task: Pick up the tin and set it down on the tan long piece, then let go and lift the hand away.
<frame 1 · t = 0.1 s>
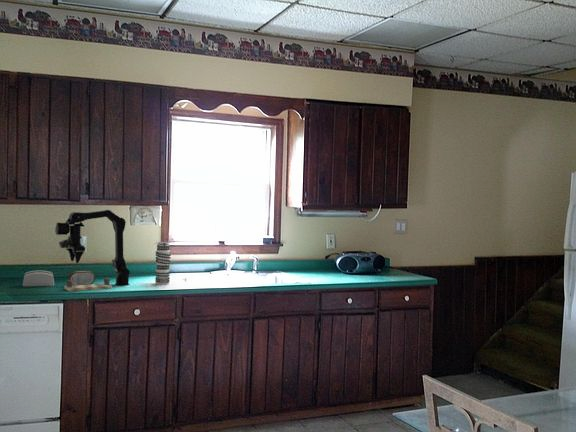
hand: (74, 262, 352), 14 cm above the countertop, tool pointing down, fingers open, 9 cm apart
tin: (81, 285, 361), on the countertop
tan long piece: (88, 288, 351), on the countertop
decorative candle: (162, 283, 378), on the countertop
grey arched block: (38, 286, 355), on the countertop
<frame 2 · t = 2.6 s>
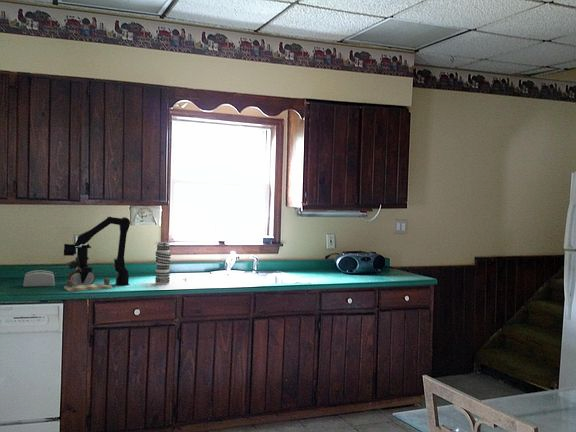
hand: (81, 282, 361), 2 cm above the countertop, tool pointing down, fingers closed on tin, 3 cm apart
tin: (81, 285, 361), on the countertop, touching gripper
everything else where it was.
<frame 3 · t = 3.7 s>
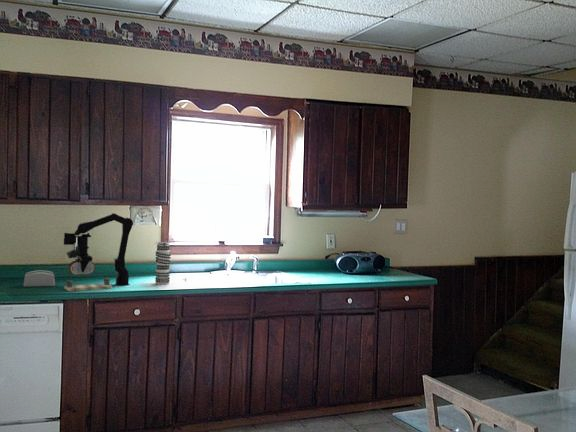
hand: (82, 271, 361), 8 cm above the countertop, tool pointing down, fingers closed on tin, 3 cm apart
tin: (81, 275, 361), point 6 cm above the countertop, touching gripper
everything else where it was.
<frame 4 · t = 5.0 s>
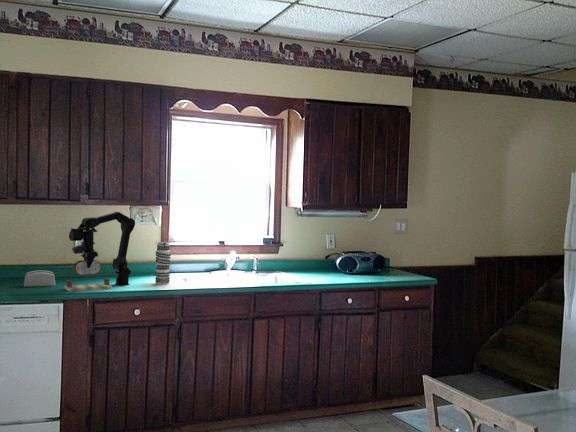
hand: (87, 267, 352), 12 cm above the countertop, tool pointing down, fingers closed on tin, 2 cm apart
tin: (87, 275, 352), point 7 cm above the countertop, touching gripper
everything else where it was.
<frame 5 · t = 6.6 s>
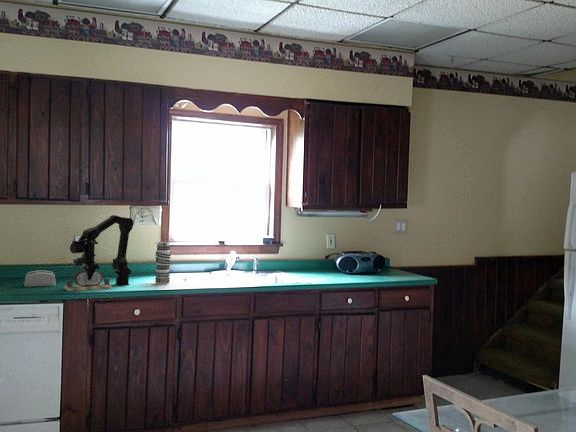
hand: (88, 280, 351), 5 cm above the countertop, tool pointing down, fingers closed on tin, 2 cm apart
tin: (89, 286, 351), point 1 cm above the countertop, touching tan long piece, gripper
everything else where it was.
when the fingers open (5 cm above the countertop, at t = 7.1 s): tin stays where it is, resting on tan long piece.
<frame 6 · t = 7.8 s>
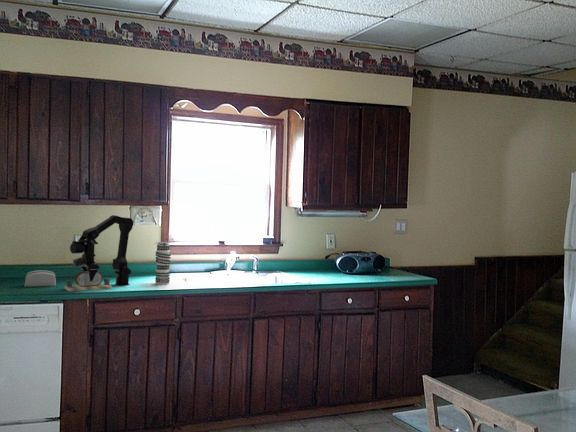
hand: (88, 280, 351), 5 cm above the countertop, tool pointing down, fingers open, 9 cm apart
tin: (89, 286, 351), point 1 cm above the countertop, touching tan long piece
everything else where it was.
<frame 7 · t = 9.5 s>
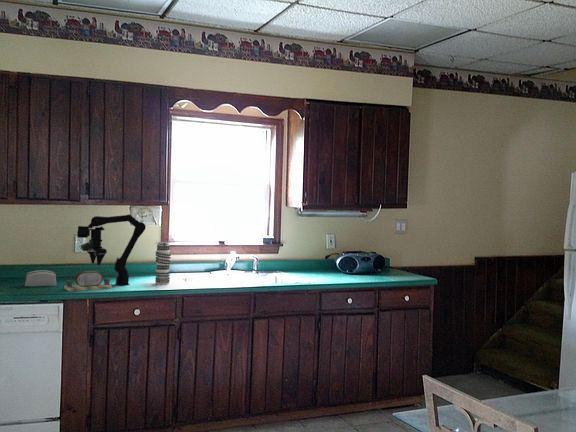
hand: (95, 264, 364), 12 cm above the countertop, tool pointing down, fingers open, 9 cm apart
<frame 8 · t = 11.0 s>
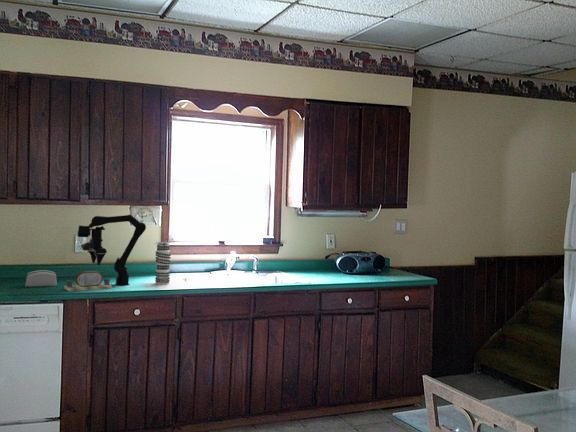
hand: (96, 264, 365), 12 cm above the countertop, tool pointing down, fingers open, 9 cm apart
at the end: tin 0.7 cm off-centre on the tan long piece, point 1.3 cm above the tan long piece's base; tin tilted 0°; the gripper is holding nothing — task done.
